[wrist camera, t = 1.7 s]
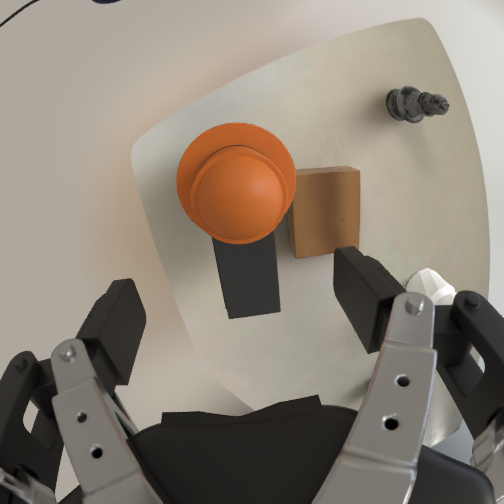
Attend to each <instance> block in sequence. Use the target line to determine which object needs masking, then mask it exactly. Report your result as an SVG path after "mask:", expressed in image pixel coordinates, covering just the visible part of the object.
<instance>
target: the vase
mask: <svg viewBox="0 0 504 504" xmlns="http://www.w3.org/2000/svg"><path fill="white" fill-rule="evenodd" d="M405 290H406V291H407V292H417V293H421V294H423V295H425V296H427V297H428V298H430V299H431V300H432V302H433V303H434V305H452V303H453V300H454V297H455V295H456V294H457V293H455V290H454V288H453V287H452V286H451V285H449V284H448V283H447V282H445V281H444V280H443V279H442V277H441V276H440V275H439V274H438V273H437V272H435V271H433V270H431V269H428V268H425V269H423V270H420V271H418V272H417V273H416V274H415V275H414V276H413V277H412V278H411V279H410V280H409V282H408V284H407V287H406V289H405Z"/></svg>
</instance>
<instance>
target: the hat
mask: <svg viewBox="0 0 504 504" xmlns="http://www.w3.org/2000/svg"><path fill="white" fill-rule="evenodd" d="M295 189H296V171H295V166H294V163H293V160H292V158H291V155H290V153H289V152H288V150H287V148H286V147H285V146H284V144H283V143H282V142H281V141H280V140H279V139H278V138H277V137H276V136H274V135H273V134H272V133H270V132H269V131H267V130H265V129H263V128H261V127H258V126H255V125H252V124H246V123H227V124H223V125H219V126H216V127H213V128H211V129H209V130H207V131H205V132H204V133H202V134H201V135H200V136H198V137H197V138H196V139H195V140H194V141H193V142H192V143H191V144H190V145H189V147H188V148H187V149H186V151H185V153H184V154H183V156H182V159H181V161H180V164H179V167H178V172H177V191H178V196H179V199H180V202H181V204H182V207H183V208H184V210H185V212H186V213H187V215H188V216H189V217H190V218H191V220H192V221H193V222H195V223H196V224H197V225H198V226H199V227H201V228H202V229H203V230H204V231H206V232H207V233H208V234H209V235H211V236H212V237H214V238H215V239H217V240H220V241H222V242H226V243H231V244H247V243H251V242H255V241H258V240H260V239H262V238H264V237H265V236H267V235H268V234H270V233H271V232H272V231H273V230H274V229H275V228H276V227H277V226H278V224H279V223H280V222H281V220H282V218H283V216H284V215H285V213H286V212H287V210H288V209H289V207H290V205H291V203H292V200H293V197H294V194H295Z"/></svg>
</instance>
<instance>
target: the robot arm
mask: <svg viewBox="0 0 504 504" xmlns="http://www.w3.org/2000/svg"><path fill="white" fill-rule="evenodd" d="M37 1H39V0H33V1H31V2H29V3H27V4H26V5H24V6H23V7H22V8H20V9H19V10H18V11H16V12H15V13H14V14H12V15H11V16H10V17H9V18H7V19H6V20H5V21H4V22H2V23H1V24H0V27H1V26H2V25H4V24H5V23H6V22H7V21H9V20H10V19H11V18H13V17H14V16H15V15H17V14H18V13H19V12H21V11H22V10H23V9H24V8H26V7H28V6H29V5H31V4H33V3H35V2H37ZM333 287H334V292H335V296H336V298H337V300H338V301H339V303H340V305H341V307H342V308H343V310H344V312H345V314H346V315H347V317H348V319H349V321H350V322H351V324H352V326H353V328H354V330H355V331H356V333H357V335H358V337H359V338H360V340H361V342H362V344H363V346H364V348H365V349H366V351H367V353H368V354H370V353H373V352H377V351H379V352H380V353H379V356H378V359H377V362H376V365H375V368H374V371H373V374H372V377H371V380H370V383H369V386H368V388H367V391H366V394H365V396H364V399H363V402H362V404H361V407H360V409H359V412H358V411H356V410H353V409H350V408H346V407H341V406H335V405H321V402H320V399H319V396H318V395H314V396H309V397H305V398H300V399H295V400H289V401H284V402H279V403H276V404H274V405H271V406H268V407H266V408H263V409H260V410H257V411H255V412H252V413H249V414H246V415H243V416H227V415H220V414H213V413H206V412H200V411H196V412H195V411H194V412H163V413H162V420H161V423H159V424H156V425H153V426H150V427H148V428H146V429H143V430H142V431H140V432H139V430H138V429H137V427H136V426H135V424H134V423H133V421H132V420H131V418H130V416H129V414H128V413H127V411H126V409H125V407H124V406H123V404H122V402H121V400H120V398H119V397H118V395H117V393H116V392H115V391H114V390H115V387H116V385H128V383H129V379H130V375H131V372H132V368H133V365H134V361H135V358H136V354H137V351H138V348H139V344H140V341H141V338H142V335H143V331H144V328H145V325H146V313H145V310H144V307H143V304H142V302H141V299H140V297H139V294H138V291H137V289H136V286H135V283H134V281H133V280H132V279H131V278H128V279H121V280H114V281H113V282H112V284H111V285H110V287H109V289H108V290H107V292H106V294H104V295H102V296H101V297H100V298H99V299H98V300H97V301H96V302H95V304H94V306H93V307H92V309H91V311H90V312H89V314H88V316H87V318H86V319H85V321H84V323H83V325H82V327H81V328H80V331H79V332H78V334H77V336H76V337H75V339H68V340H66V341H64V342H62V343H60V344H59V345H58V346H57V347H56V348H55V349H54V350H53V352H52V354H51V358H50V359H46V360H42V361H38V360H37V359H36V357H35V356H34V354H33V353H32V352H30V351H24V352H21V353H19V354H17V355H16V356H15V357H14V358H13V359H12V360H11V361H10V363H9V365H8V367H7V369H6V371H5V372H4V374H3V376H2V378H1V380H0V504H497V503H498V502H499V501H501V500H502V499H503V498H504V318H503V317H502V316H501V315H500V314H499V313H498V312H497V310H496V309H495V308H493V306H492V305H491V304H490V303H489V302H488V301H487V300H486V299H485V298H484V297H483V296H481V295H480V294H478V293H476V292H473V291H467V290H465V291H460V292H458V293H457V294H456V295H455V297H454V300H453V303H452V305H434V303H433V302H432V300H431V299H430V298H428V297H427V296H425V295H423V294H421V293H417V292H407V291H406V290H405V289H404V288H403V287H402V285H401V284H400V283H399V282H398V281H397V280H396V279H395V278H394V277H393V276H392V275H390V273H389V272H388V271H387V270H386V269H385V267H384V266H383V265H382V264H381V263H380V262H379V261H377V260H375V259H373V258H371V257H369V256H364V255H363V254H362V253H361V252H360V251H359V250H358V249H357V248H356V247H355V246H348V247H341V248H336V249H335V251H334V276H333ZM473 346H474V347H475V349H476V350H477V351H478V353H479V354H480V355H481V357H482V358H483V360H484V363H485V371H484V373H483V372H482V370H481V369H480V367H479V366H478V364H477V363H476V361H475V360H474V358H473V357H472V356H471V354H470V351H471V349H472V347H473ZM436 370H437V371H438V373H439V375H440V377H441V378H442V380H443V382H444V383H445V385H446V387H447V389H448V391H449V392H450V394H451V396H452V398H453V400H454V401H455V403H456V405H457V407H458V409H459V411H460V413H461V415H462V417H463V419H464V421H465V423H466V425H467V427H468V428H469V431H470V433H471V435H472V437H473V439H474V444H473V447H472V456H471V459H470V463H471V466H470V465H468V464H465V463H463V462H460V461H458V460H456V459H453V458H451V457H449V456H446V455H444V454H442V453H440V452H437V451H435V450H433V449H431V448H429V447H427V446H425V445H422V442H423V438H424V434H425V430H426V425H427V421H428V416H429V411H430V405H431V400H432V393H433V387H434V379H435V371H436ZM29 400H31V402H32V403H33V404H34V405H35V406H36V407H37V408H38V409H39V410H38V413H37V416H36V419H35V422H34V425H33V428H32V431H31V433H29V432H28V431H27V430H26V428H25V426H24V424H23V416H24V413H25V411H26V408H27V405H28V403H29ZM64 445H65V447H66V451H67V453H68V456H69V458H70V461H71V464H72V467H73V469H74V472H75V473H76V476H77V479H78V481H79V483H80V485H78V486H77V487H76V488H75V489H74V490H73V491H72V492H71V493H69V494H68V495H67V496H66V497H65V498H63V499H62V500H61V501H60V502H59V503H58V502H56V498H55V488H56V482H57V476H58V471H59V465H60V461H61V456H62V451H63V447H64Z"/></svg>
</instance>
